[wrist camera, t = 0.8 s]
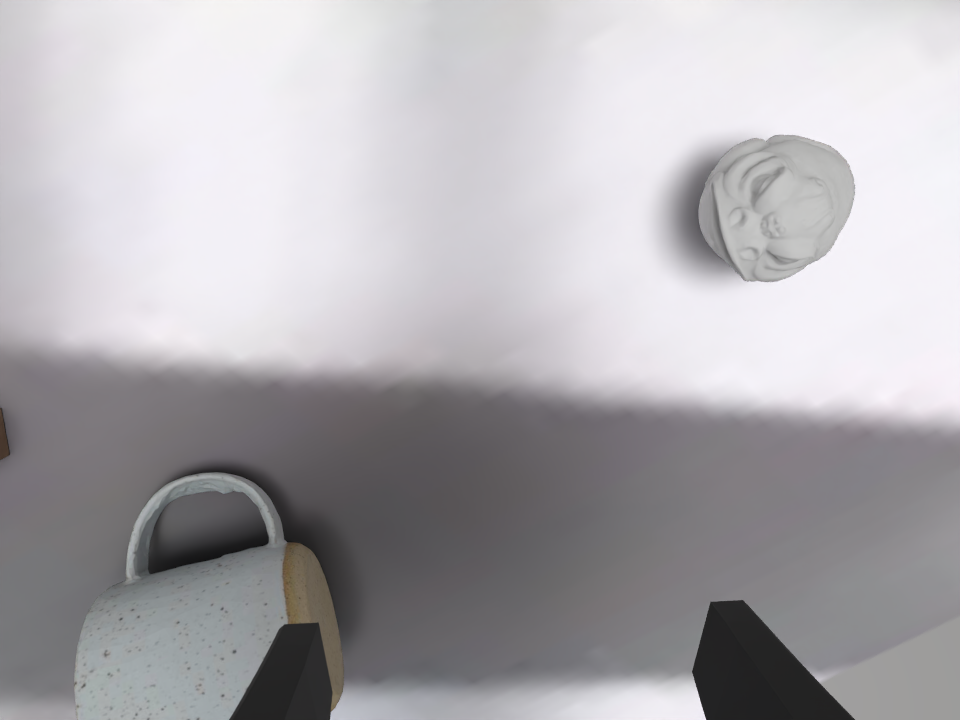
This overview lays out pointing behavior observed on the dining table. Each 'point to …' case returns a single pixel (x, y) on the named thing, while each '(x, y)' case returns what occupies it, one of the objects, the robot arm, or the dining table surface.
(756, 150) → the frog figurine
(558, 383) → the dining table surface
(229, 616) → the ceramic mug
